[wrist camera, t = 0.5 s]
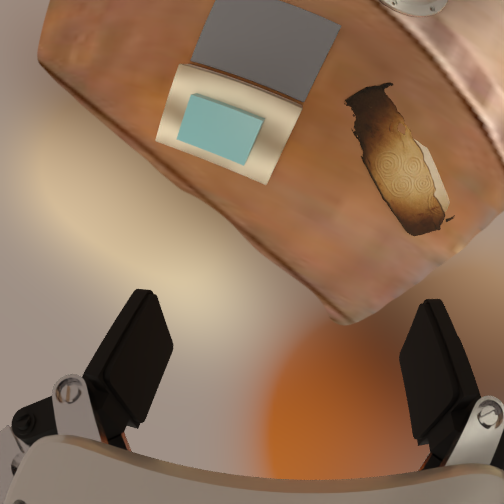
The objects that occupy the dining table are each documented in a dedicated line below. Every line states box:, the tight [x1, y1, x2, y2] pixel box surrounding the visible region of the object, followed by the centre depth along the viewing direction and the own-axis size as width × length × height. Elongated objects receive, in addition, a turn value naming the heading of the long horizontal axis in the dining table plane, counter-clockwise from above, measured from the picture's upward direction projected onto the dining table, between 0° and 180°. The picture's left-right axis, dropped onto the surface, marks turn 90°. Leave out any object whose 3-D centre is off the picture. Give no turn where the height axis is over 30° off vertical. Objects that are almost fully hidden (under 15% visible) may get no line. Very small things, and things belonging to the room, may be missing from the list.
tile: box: [177, 93, 265, 166], centre depth 33 cm, size 6×9×2 cm, turn 68°
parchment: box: [345, 83, 455, 236], centre depth 37 cm, size 25×10×1 cm, turn 38°
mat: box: [190, 0, 341, 102], centre depth 30 cm, size 12×16×1 cm
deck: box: [155, 64, 302, 185], centre depth 36 cm, size 11×16×4 cm
